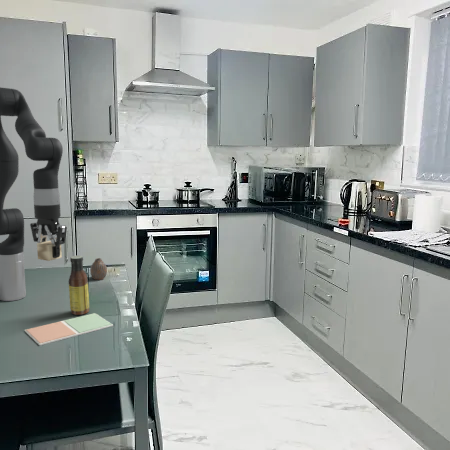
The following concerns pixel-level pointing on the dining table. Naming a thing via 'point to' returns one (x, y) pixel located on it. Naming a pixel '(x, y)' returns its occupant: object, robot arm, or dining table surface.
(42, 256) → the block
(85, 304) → the sauce bottle
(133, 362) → the dining table surface
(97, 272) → the brown rounded lump
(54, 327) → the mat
